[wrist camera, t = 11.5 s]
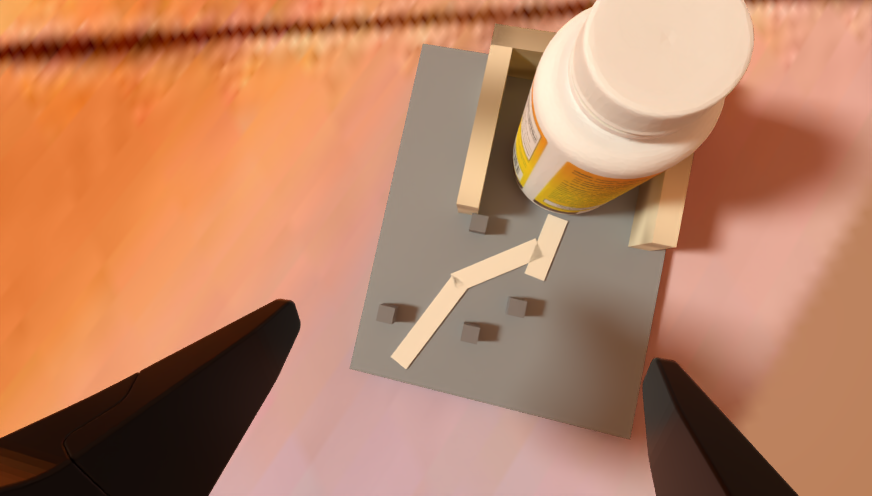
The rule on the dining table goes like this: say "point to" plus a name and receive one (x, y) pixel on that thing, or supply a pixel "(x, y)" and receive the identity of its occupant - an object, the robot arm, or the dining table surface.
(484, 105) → the end holder
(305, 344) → the dining table surface
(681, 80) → the supplement bottle
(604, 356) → the board
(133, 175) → the dining table surface
